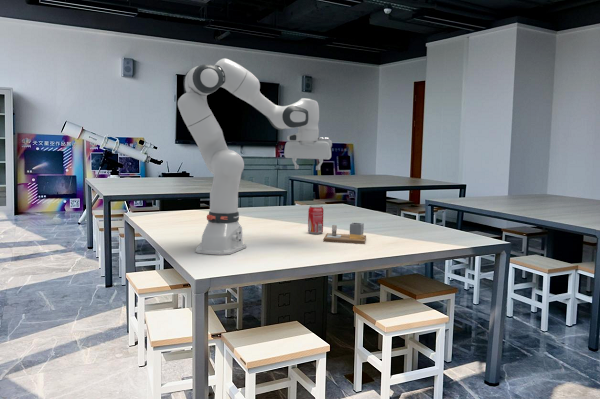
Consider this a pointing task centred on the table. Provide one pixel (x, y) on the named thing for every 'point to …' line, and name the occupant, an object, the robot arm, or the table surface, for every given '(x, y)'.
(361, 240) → the pin board
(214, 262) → the table surface
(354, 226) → the sleeve
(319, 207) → the soda can
